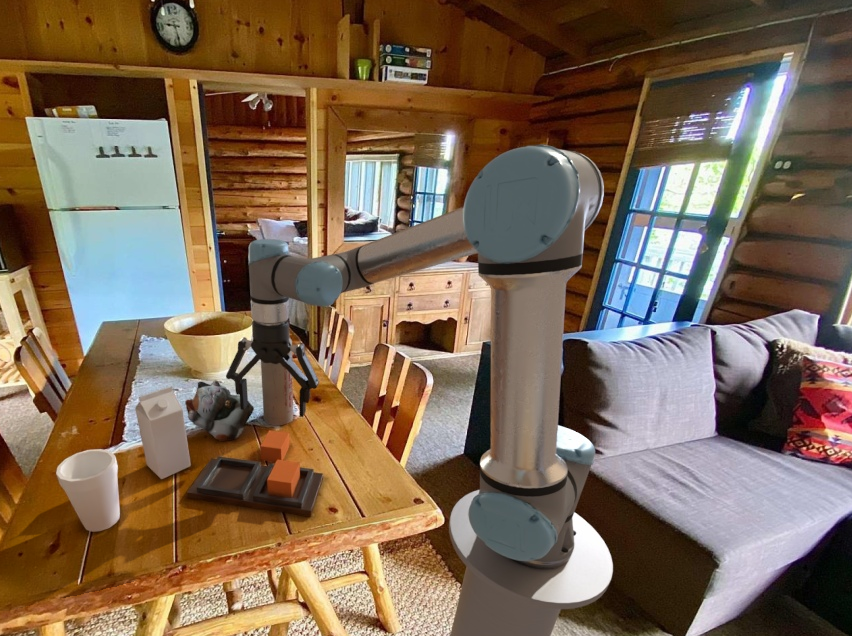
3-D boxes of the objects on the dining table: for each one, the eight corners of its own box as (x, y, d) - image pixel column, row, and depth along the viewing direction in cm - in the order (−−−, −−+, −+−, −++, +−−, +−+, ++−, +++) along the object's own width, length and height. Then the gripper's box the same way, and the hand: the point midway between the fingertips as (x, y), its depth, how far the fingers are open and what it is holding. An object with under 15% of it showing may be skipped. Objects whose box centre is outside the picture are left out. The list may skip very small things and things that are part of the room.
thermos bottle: (299, 415, 121) (298, 317, 108) (281, 428, 115) (278, 326, 102) (276, 407, 124) (272, 311, 112) (257, 419, 118) (251, 319, 106)
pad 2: (300, 477, 95) (299, 462, 93) (291, 498, 89) (291, 483, 87) (277, 474, 95) (277, 459, 94) (267, 495, 89) (266, 479, 87)
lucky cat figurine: (233, 447, 106) (198, 405, 100) (201, 449, 113) (167, 410, 107) (262, 405, 116) (233, 365, 110) (232, 410, 123) (202, 372, 117)
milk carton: (146, 465, 99) (131, 391, 91) (175, 453, 104) (164, 380, 95) (161, 480, 95) (146, 403, 86) (191, 466, 99) (180, 392, 91)
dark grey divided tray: (323, 478, 97) (323, 468, 96) (311, 516, 86) (311, 506, 85) (211, 463, 101) (210, 453, 99) (187, 498, 90) (185, 487, 89)
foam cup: (139, 508, 87) (126, 454, 81) (105, 542, 79) (88, 485, 73) (99, 498, 89) (84, 445, 83) (62, 530, 81) (43, 474, 75)
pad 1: (289, 446, 108) (289, 432, 106) (281, 463, 101) (281, 448, 100) (269, 443, 108) (269, 430, 107) (260, 460, 102) (259, 446, 100)
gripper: (334, 319, 91) (330, 408, 100) (219, 309, 94) (227, 396, 104) (327, 331, 84) (324, 425, 94) (204, 320, 88) (214, 411, 97)
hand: (273, 410), depth 99 cm, fingers open, 13 cm apart
